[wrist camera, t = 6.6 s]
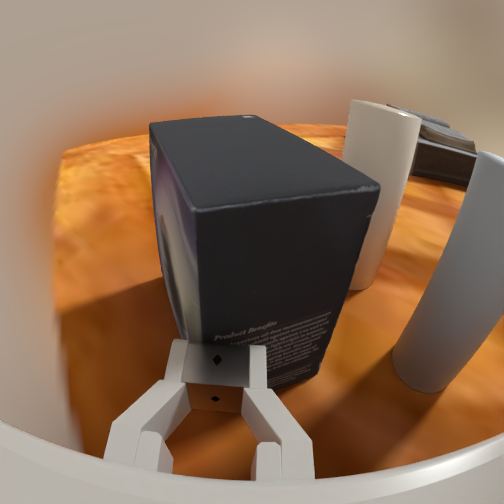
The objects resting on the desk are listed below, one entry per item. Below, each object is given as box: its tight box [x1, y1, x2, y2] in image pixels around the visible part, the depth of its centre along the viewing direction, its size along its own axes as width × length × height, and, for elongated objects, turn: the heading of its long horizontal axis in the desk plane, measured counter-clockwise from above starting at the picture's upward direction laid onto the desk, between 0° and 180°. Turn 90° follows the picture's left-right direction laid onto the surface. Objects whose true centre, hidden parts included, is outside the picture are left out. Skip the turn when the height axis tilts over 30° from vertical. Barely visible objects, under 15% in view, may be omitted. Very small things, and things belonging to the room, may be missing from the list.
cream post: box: [341, 100, 422, 290], centre depth 19 cm, size 4×4×12 cm
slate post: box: [392, 150, 504, 393], centre depth 12 cm, size 4×4×12 cm
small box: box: [149, 115, 381, 391], centre depth 15 cm, size 11×6×10 cm, turn 23°
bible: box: [386, 104, 478, 186], centre depth 53 cm, size 23×27×10 cm
